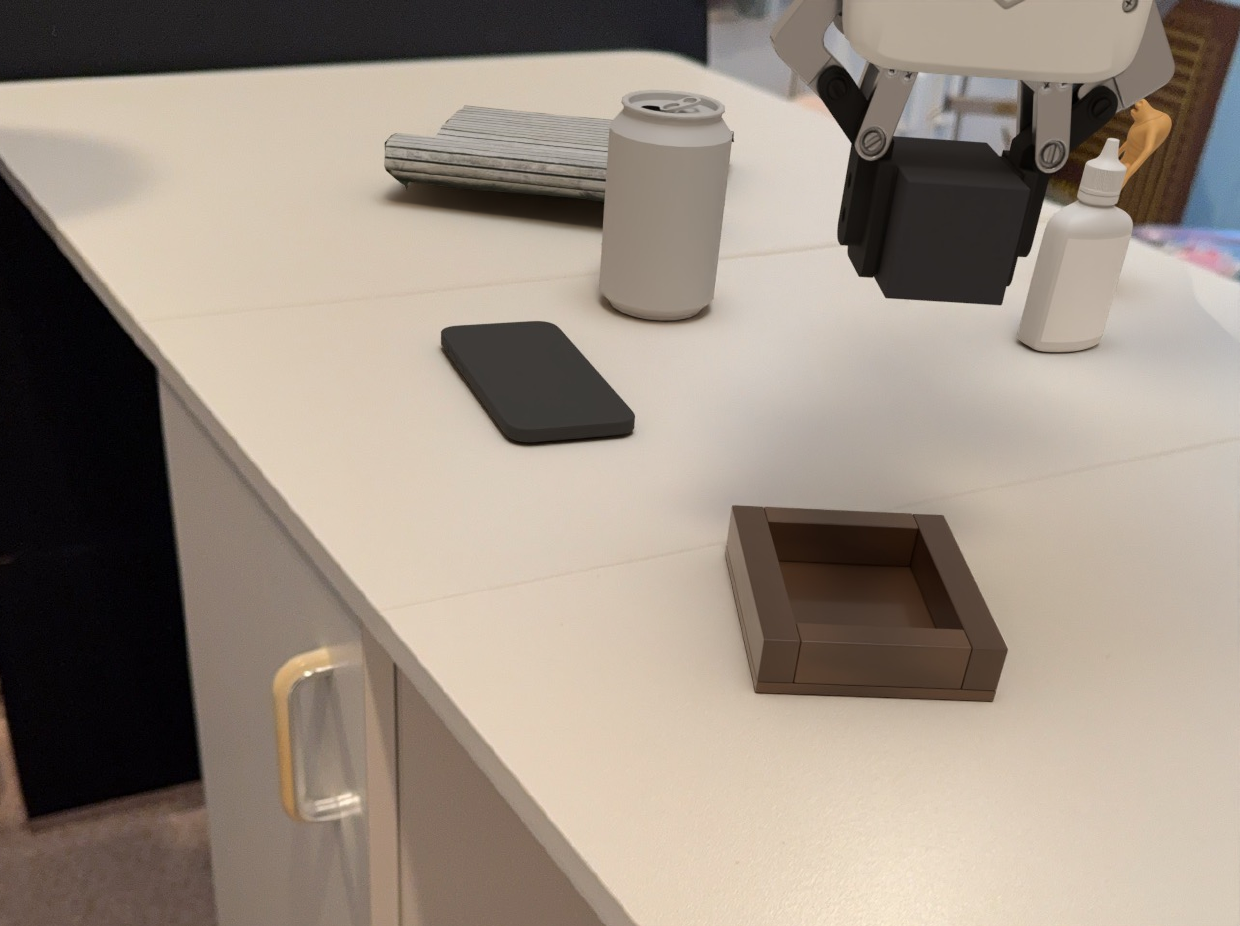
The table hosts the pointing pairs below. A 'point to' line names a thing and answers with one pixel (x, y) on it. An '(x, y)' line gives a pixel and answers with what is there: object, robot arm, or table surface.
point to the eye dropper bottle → (1079, 262)
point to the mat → (507, 154)
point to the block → (951, 223)
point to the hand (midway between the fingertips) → (927, 265)
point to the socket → (860, 605)
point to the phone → (536, 381)
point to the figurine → (1143, 136)
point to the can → (664, 204)
